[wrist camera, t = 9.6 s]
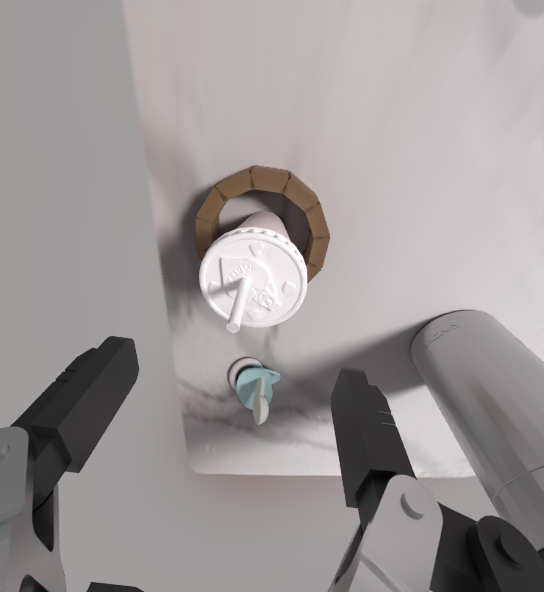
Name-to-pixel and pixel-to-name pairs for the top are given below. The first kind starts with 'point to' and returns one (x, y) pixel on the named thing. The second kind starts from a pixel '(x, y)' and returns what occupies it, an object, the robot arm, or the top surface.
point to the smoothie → (254, 274)
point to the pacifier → (254, 387)
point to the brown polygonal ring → (270, 182)
